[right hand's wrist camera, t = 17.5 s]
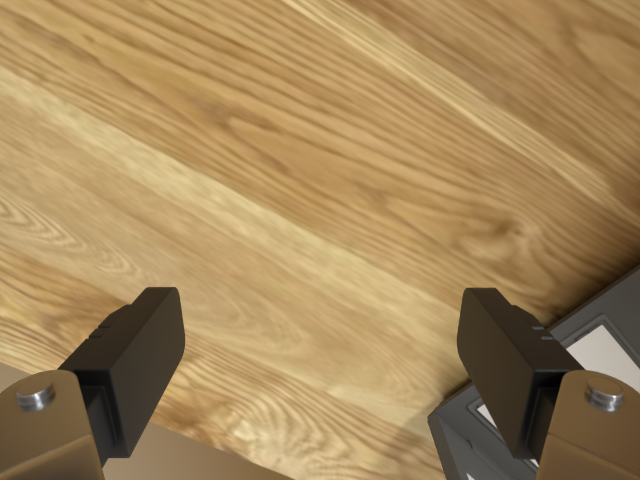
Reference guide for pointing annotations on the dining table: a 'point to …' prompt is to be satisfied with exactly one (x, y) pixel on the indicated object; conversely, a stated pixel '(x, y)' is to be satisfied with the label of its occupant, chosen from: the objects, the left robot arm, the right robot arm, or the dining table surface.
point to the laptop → (582, 343)
